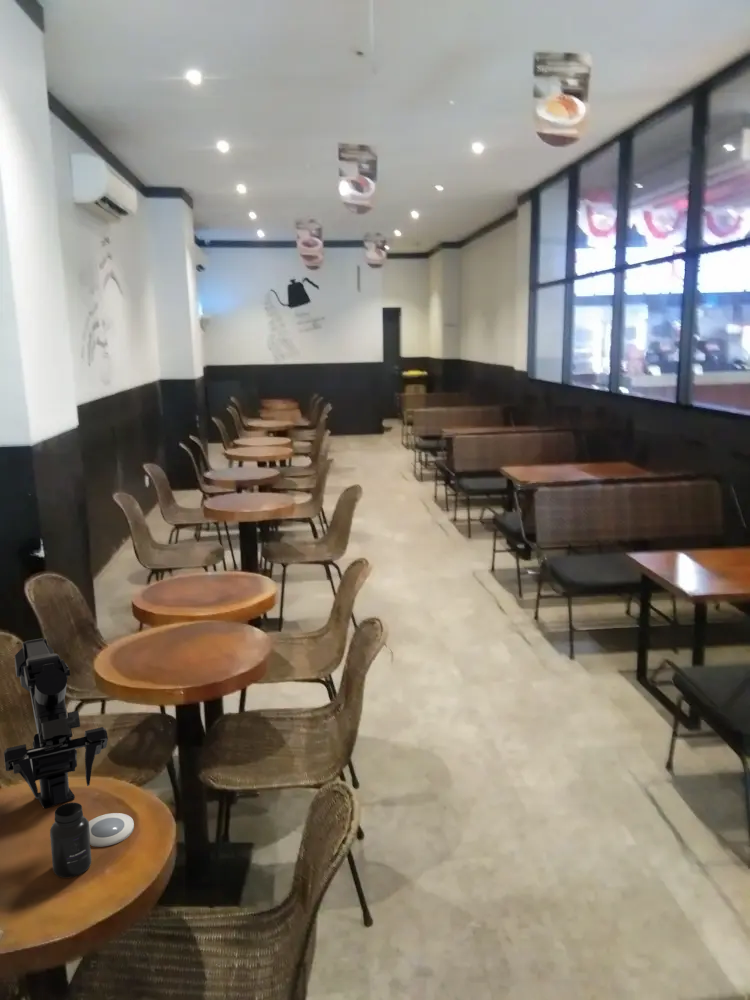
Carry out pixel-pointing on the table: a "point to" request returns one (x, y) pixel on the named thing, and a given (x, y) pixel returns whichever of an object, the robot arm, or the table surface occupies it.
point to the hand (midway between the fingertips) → (63, 791)
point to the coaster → (110, 829)
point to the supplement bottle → (70, 841)
